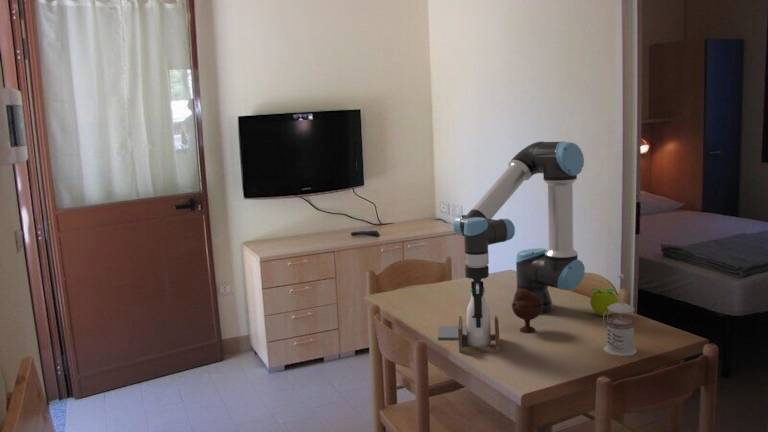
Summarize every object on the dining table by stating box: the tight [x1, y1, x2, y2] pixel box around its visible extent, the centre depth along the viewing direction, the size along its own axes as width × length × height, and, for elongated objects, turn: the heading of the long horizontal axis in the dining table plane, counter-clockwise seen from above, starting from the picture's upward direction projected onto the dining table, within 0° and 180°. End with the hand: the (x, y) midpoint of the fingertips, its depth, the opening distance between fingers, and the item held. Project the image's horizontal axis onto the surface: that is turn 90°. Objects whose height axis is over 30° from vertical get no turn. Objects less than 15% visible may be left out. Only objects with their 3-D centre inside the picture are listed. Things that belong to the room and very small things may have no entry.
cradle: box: [457, 315, 500, 354], centre depth 212 cm, size 13×13×8 cm
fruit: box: [590, 288, 618, 317], centre depth 235 cm, size 9×9×10 cm
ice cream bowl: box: [510, 289, 543, 334], centre depth 222 cm, size 11×11×15 cm
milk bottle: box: [466, 287, 492, 347], centre depth 211 cm, size 8×8×20 cm
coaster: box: [437, 325, 467, 341], centre depth 224 cm, size 12×12×1 cm
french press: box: [602, 273, 637, 357], centre depth 201 cm, size 10×12×25 cm
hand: (478, 331), depth 212 cm, fingers closed on milk bottle, 8 cm apart
